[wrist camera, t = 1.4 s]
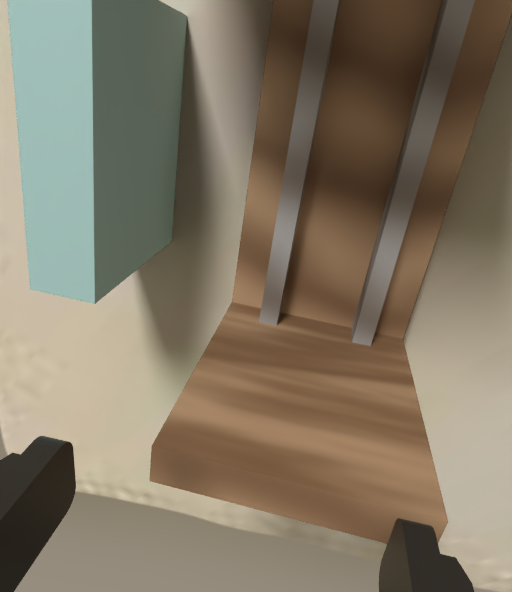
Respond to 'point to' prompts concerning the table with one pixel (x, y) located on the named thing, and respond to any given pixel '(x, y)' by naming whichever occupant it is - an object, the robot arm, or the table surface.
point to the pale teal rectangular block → (96, 136)
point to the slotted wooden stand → (336, 266)
